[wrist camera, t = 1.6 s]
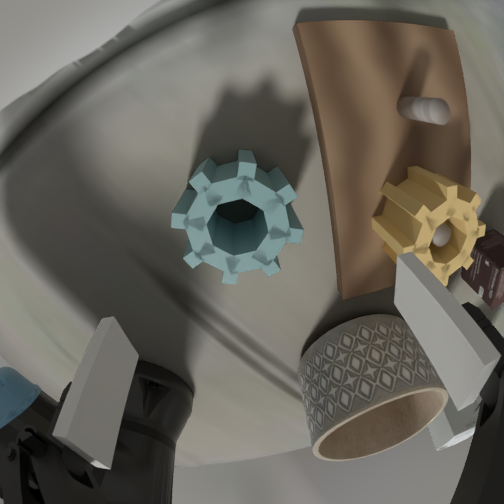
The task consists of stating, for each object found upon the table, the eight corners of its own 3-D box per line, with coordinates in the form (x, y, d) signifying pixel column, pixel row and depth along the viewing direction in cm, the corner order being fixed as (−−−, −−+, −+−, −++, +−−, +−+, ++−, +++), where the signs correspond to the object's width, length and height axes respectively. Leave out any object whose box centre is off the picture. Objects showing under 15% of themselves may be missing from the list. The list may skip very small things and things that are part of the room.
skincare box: (455, 359, 40) (490, 419, 27) (441, 379, 43) (471, 437, 30) (421, 367, 40) (456, 436, 27) (408, 388, 43) (436, 453, 29)
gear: (203, 255, 28) (196, 292, 22) (173, 166, 23) (155, 185, 18) (295, 234, 27) (310, 267, 22) (276, 140, 23) (288, 150, 18)
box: (465, 237, 28) (502, 267, 22) (494, 227, 28) (529, 254, 21) (459, 277, 31) (490, 310, 25) (488, 265, 31) (518, 294, 24)
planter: (424, 338, 36) (461, 403, 25) (342, 398, 41) (360, 464, 30) (370, 284, 30) (421, 369, 19) (270, 365, 36) (281, 452, 25)
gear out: (392, 270, 27) (419, 305, 22) (357, 200, 24) (389, 228, 18) (454, 224, 25) (489, 251, 20) (431, 150, 21) (473, 166, 16)
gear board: (337, 289, 30) (358, 333, 24) (292, 29, 18) (313, 2, 12) (453, 255, 29) (486, 286, 23) (441, 32, 17) (487, 25, 11)
